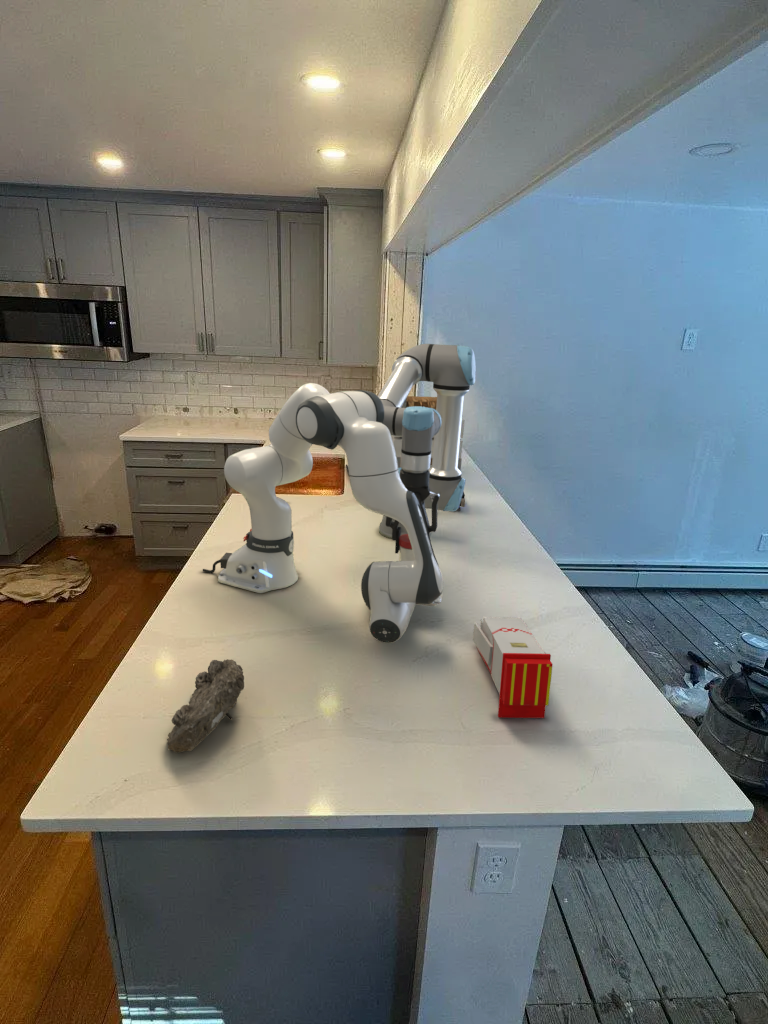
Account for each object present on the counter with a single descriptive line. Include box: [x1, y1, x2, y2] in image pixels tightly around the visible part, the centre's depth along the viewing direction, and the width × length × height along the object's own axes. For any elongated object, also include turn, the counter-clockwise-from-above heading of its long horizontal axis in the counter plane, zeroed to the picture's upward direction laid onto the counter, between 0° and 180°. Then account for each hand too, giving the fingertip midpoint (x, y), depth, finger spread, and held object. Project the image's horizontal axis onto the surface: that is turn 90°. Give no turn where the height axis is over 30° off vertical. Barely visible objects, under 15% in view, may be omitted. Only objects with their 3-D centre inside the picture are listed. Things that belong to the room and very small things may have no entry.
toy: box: [472, 616, 553, 719], centre depth 122 cm, size 12×13×30 cm
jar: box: [398, 546, 415, 561], centre depth 153 cm, size 6×6×17 cm
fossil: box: [166, 658, 245, 754], centre depth 106 cm, size 22×10×15 cm
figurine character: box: [457, 490, 466, 511], centre depth 229 cm, size 7×8×15 cm
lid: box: [399, 534, 412, 549], centre depth 150 cm, size 6×6×2 cm
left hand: (408, 575), depth 154 cm, fingers closed on jar, 5 cm apart
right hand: (409, 552), depth 151 cm, fingers closed on lid, 6 cm apart
